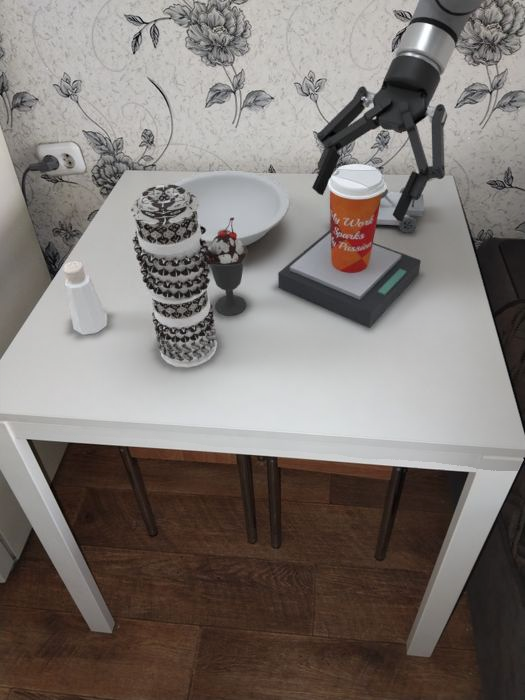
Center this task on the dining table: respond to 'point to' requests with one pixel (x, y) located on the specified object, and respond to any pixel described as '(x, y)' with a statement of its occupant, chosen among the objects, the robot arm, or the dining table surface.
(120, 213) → the dining table surface
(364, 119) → the robot arm
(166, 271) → the decorative candle
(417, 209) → the toy car
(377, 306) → the scale
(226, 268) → the sundae
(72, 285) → the pepper shaker
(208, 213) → the white bowl
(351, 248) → the coffee cup
